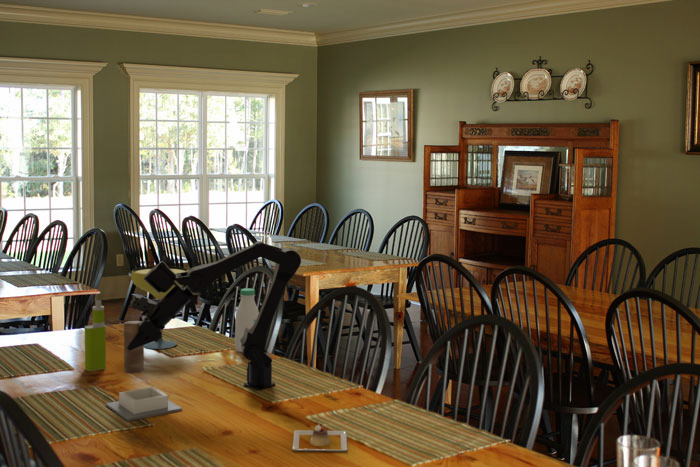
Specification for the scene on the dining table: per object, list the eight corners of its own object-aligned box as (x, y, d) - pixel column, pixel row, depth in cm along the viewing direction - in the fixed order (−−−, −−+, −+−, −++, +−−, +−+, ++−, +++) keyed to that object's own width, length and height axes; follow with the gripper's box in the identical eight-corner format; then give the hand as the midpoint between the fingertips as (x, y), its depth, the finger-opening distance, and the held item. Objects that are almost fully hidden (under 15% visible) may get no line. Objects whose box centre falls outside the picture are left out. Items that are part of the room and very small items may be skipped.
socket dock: (157, 396, 210) (157, 382, 209) (181, 410, 199) (181, 396, 198) (105, 405, 201) (105, 391, 201) (128, 421, 190) (127, 406, 190)
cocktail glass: (146, 355, 250) (146, 276, 247) (122, 343, 263) (122, 268, 261) (198, 347, 261) (198, 271, 258) (172, 336, 275) (172, 264, 272)
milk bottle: (247, 354, 253) (247, 292, 251) (230, 350, 258) (230, 289, 256) (264, 350, 260) (264, 289, 257) (247, 346, 264) (247, 286, 262)
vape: (108, 368, 235) (107, 300, 232) (89, 371, 230) (88, 303, 228) (102, 365, 237) (101, 299, 235) (83, 368, 233) (82, 301, 231)
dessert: (345, 435, 186) (346, 415, 185) (347, 455, 174) (347, 433, 173) (294, 434, 185) (294, 414, 185) (292, 454, 173) (292, 433, 173)
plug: (147, 370, 213) (147, 322, 212) (132, 374, 209) (131, 325, 208) (135, 367, 216) (135, 320, 215) (120, 371, 212) (119, 323, 211)
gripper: (149, 278, 220) (108, 318, 219) (148, 290, 202) (103, 334, 201) (178, 305, 223) (138, 345, 221) (180, 319, 205) (135, 363, 203)
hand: (128, 346), depth 212 cm, fingers closed on plug, 5 cm apart
